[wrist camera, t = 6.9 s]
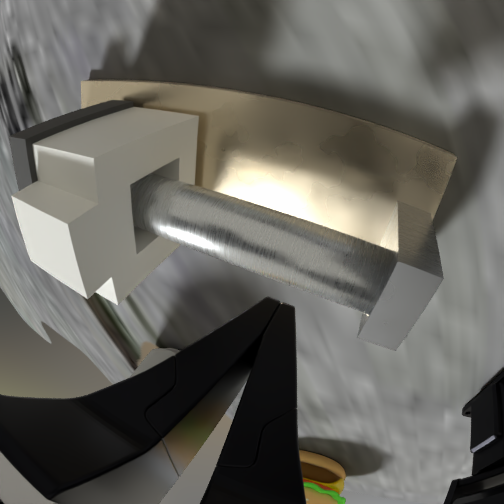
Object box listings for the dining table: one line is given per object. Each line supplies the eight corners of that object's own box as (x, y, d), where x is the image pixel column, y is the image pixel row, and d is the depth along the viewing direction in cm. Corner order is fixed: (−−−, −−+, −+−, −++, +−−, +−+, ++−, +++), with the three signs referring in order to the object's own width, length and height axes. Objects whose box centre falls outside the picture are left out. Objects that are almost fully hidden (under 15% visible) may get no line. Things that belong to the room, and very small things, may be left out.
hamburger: (258, 459, 37) (233, 509, 30) (268, 432, 30) (235, 498, 23) (338, 483, 34) (318, 535, 27) (370, 461, 27) (349, 530, 20)
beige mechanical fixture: (454, 154, 10) (489, 204, 6) (383, 309, 16) (371, 389, 12) (88, 79, 15) (17, 99, 11) (96, 203, 21) (42, 240, 17)
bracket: (198, 116, 13) (58, 175, 7) (193, 232, 17) (97, 326, 11) (133, 106, 14) (3, 157, 8) (137, 212, 18) (40, 287, 12)
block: (133, 101, 14) (25, 139, 9) (137, 216, 18) (57, 278, 13) (112, 99, 14) (9, 136, 9) (118, 209, 18) (40, 266, 13)
